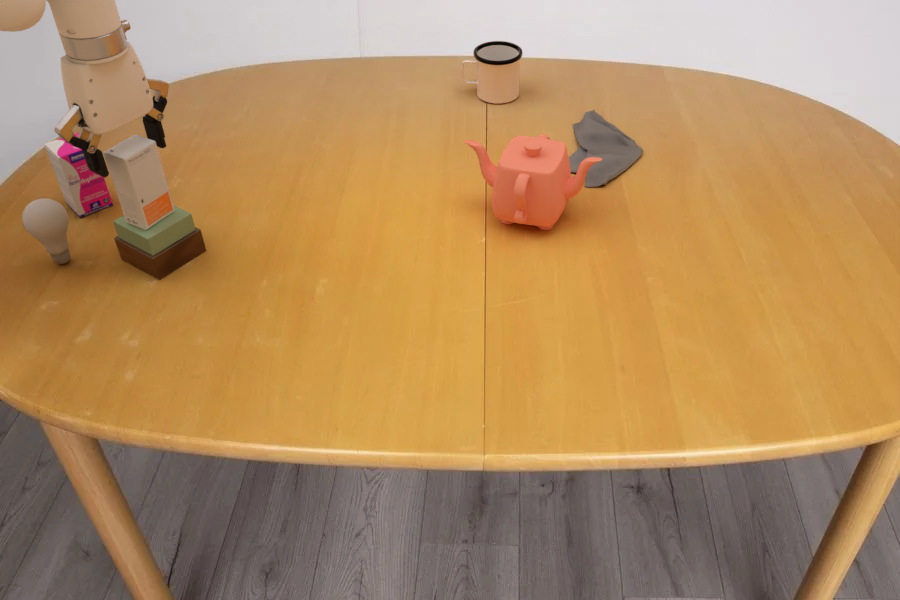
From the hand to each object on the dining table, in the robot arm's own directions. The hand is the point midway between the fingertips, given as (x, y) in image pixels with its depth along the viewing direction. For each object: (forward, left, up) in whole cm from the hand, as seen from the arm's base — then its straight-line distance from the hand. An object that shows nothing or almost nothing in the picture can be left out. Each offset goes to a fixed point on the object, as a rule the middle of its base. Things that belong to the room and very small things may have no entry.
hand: (129, 159), depth 123 cm
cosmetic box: (0, 0, -10) cm, 10 cm away
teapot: (+42, -40, -17) cm, 61 cm away
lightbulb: (-10, +11, -17) cm, 22 cm away
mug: (+72, -11, -17) cm, 75 cm away
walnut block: (0, 0, -17) cm, 17 cm away
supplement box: (+2, +21, -17) cm, 27 cm away
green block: (0, 0, -13) cm, 13 cm away
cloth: (+66, -40, -17) cm, 80 cm away
